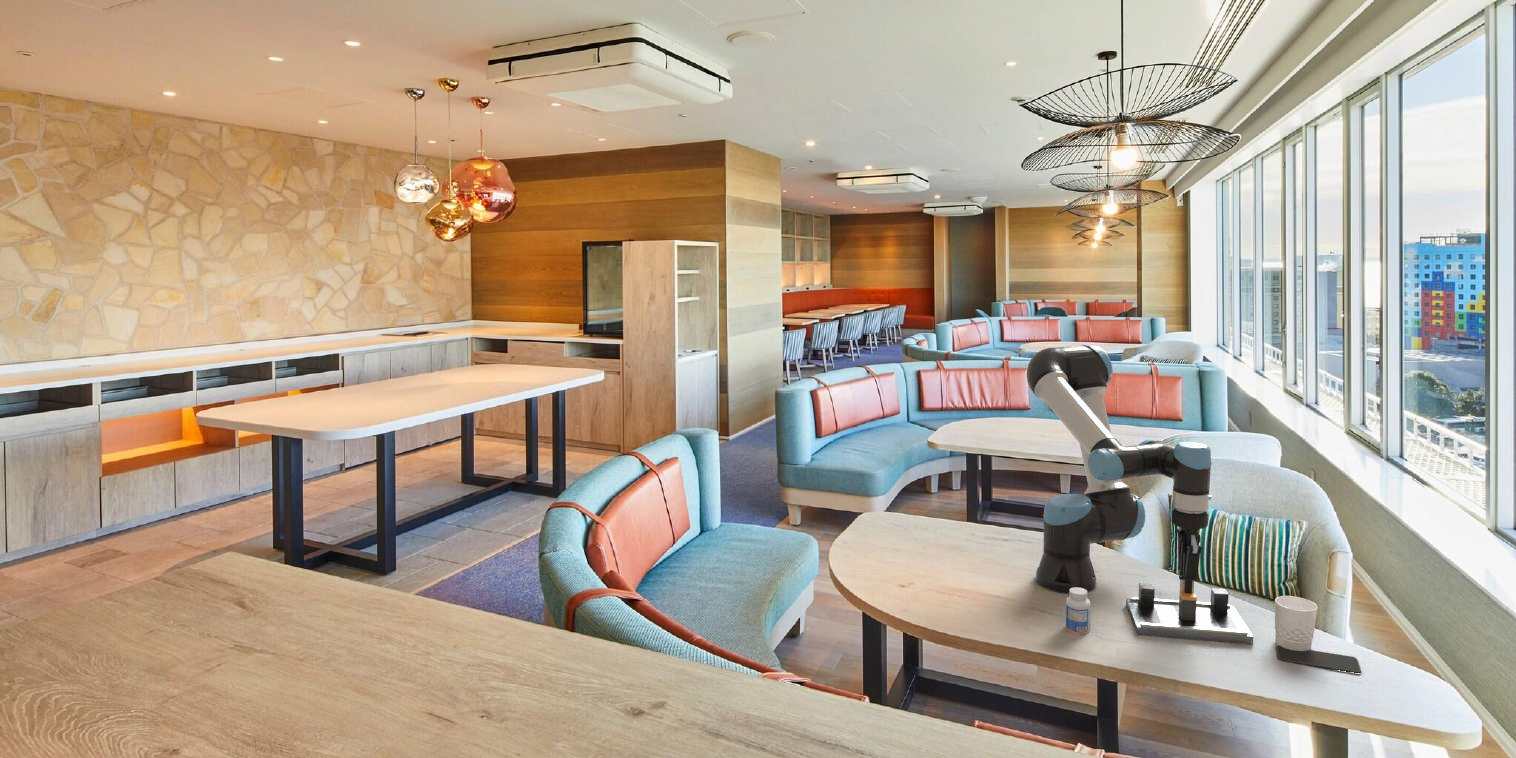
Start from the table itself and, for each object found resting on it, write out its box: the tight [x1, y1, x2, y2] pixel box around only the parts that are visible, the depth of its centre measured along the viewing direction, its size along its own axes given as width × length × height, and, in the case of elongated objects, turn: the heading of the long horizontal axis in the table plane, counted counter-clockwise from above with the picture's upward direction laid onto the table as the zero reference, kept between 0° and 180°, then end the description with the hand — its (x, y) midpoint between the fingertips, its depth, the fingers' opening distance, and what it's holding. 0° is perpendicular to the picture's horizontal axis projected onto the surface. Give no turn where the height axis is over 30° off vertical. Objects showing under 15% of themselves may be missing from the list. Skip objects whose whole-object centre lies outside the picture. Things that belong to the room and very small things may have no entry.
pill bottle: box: [1065, 587, 1091, 635], centre depth 194 cm, size 6×5×10 cm
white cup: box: [1274, 595, 1319, 651], centre depth 183 cm, size 8×8×10 cm
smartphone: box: [1275, 645, 1362, 674], centre depth 177 cm, size 7×1×15 cm
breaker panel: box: [1125, 582, 1254, 646], centre depth 195 cm, size 24×16×7 cm, turn 74°
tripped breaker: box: [1178, 590, 1198, 621], centre depth 194 cm, size 3×3×6 cm
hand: (1186, 603), depth 196 cm, fingers closed
